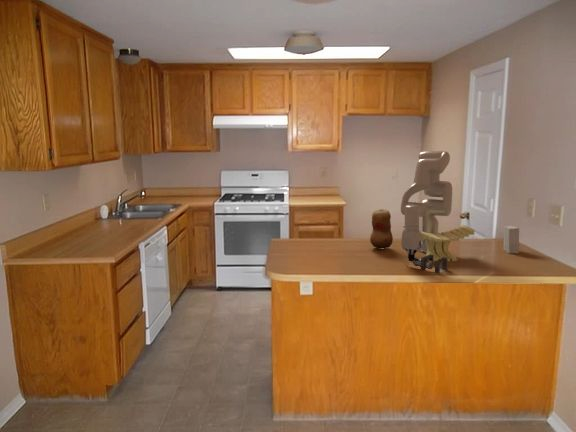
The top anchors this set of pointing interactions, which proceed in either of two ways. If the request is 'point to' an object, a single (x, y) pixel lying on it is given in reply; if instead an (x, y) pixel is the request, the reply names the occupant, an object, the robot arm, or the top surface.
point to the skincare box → (511, 239)
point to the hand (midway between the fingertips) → (411, 260)
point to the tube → (418, 263)
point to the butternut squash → (381, 229)
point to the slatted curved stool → (444, 241)
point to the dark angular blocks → (437, 264)
